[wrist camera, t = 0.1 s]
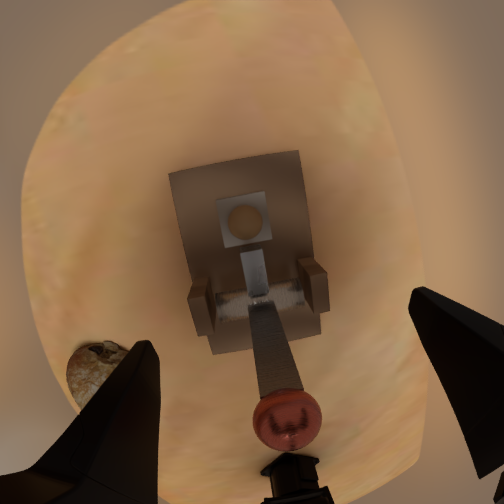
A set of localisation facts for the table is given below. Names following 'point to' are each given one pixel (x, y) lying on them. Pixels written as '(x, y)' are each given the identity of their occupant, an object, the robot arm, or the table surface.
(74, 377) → the bread roll
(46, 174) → the table surface
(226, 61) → the table surface
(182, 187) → the base
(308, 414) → the lever
